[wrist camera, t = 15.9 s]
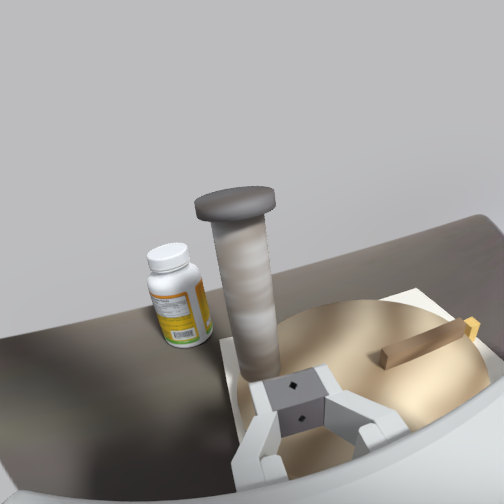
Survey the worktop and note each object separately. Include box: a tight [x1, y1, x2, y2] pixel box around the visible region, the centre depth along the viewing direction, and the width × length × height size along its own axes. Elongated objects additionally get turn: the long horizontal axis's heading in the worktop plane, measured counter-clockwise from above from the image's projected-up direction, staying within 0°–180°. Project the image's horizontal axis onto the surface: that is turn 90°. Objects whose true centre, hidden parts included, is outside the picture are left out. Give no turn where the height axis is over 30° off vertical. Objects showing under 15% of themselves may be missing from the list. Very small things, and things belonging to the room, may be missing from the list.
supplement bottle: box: [147, 243, 213, 348], centre depth 30 cm, size 5×5×10 cm
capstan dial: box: [194, 186, 490, 480], centre depth 17 cm, size 19×19×14 cm
